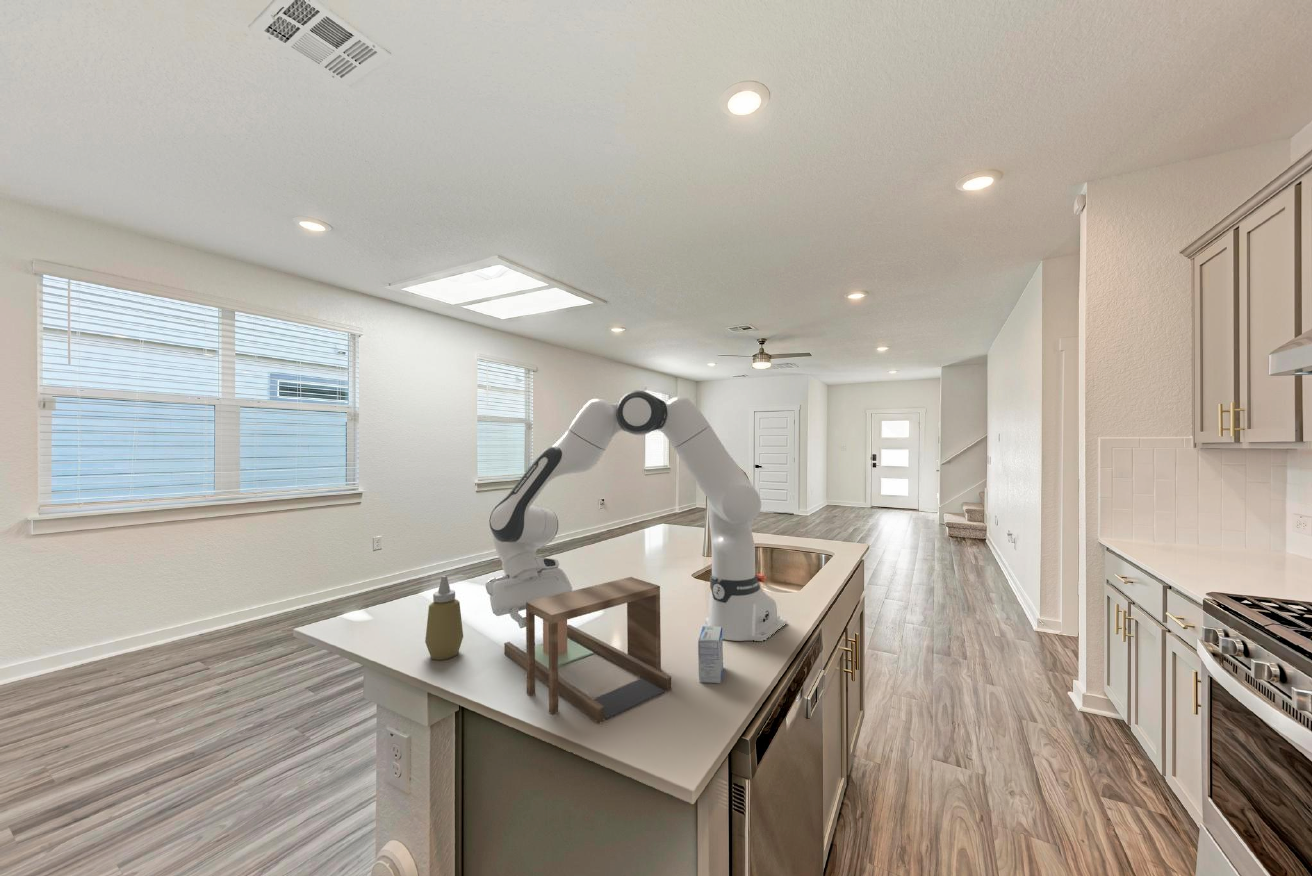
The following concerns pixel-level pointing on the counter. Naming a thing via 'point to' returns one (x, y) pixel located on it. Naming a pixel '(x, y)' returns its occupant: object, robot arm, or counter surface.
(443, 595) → the squeeze bottle
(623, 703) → the pad
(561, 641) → the terracotta block
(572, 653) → the pad
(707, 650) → the medicine box
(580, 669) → the counter surface
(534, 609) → the walnut tunnel
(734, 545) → the robot arm
